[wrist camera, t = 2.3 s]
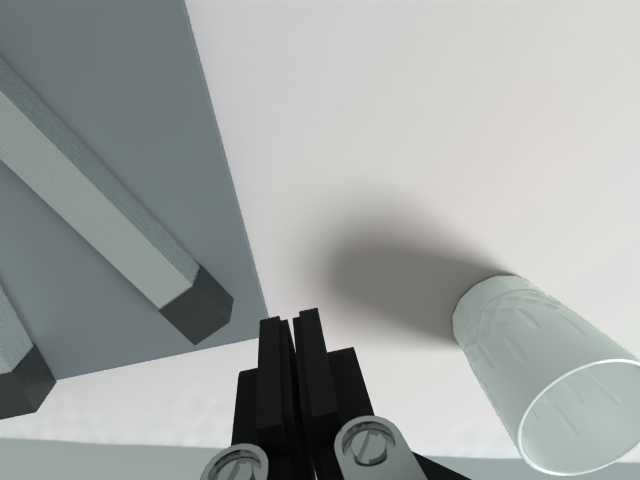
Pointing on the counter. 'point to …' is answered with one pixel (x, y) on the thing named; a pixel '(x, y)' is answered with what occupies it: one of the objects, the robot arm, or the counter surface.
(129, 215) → the moving tong arm
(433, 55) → the counter surface
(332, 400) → the robot arm
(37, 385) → the bar
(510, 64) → the counter surface
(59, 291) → the slate board
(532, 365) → the white cup
